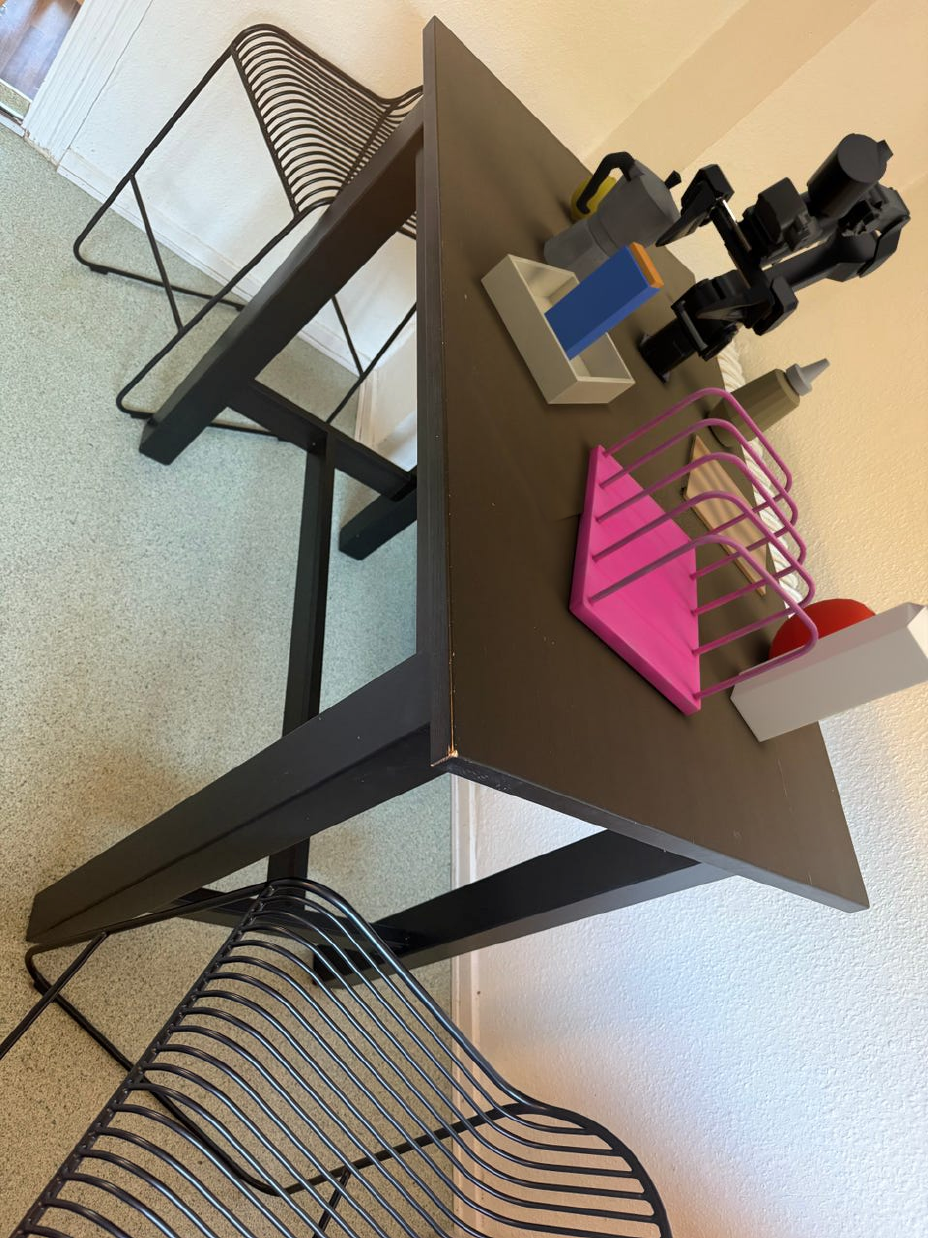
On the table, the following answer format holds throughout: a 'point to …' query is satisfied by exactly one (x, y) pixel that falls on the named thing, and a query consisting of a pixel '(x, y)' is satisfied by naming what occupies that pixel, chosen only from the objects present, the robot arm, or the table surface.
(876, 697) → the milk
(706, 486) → the square wooden board
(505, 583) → the table surface
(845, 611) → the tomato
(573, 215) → the lemon
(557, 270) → the basin
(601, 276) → the orange-tipped blue bar
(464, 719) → the table surface
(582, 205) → the coffeepot
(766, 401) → the squeeze bottle
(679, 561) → the file sorter
